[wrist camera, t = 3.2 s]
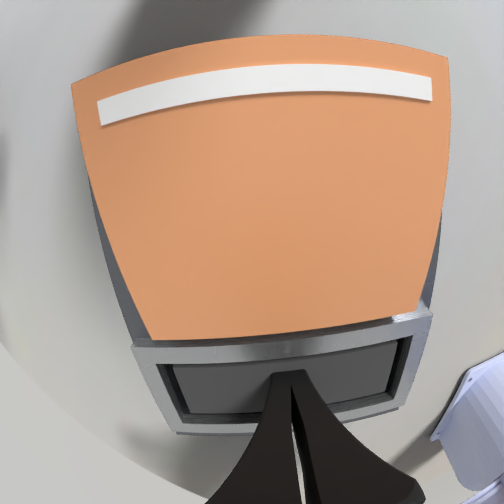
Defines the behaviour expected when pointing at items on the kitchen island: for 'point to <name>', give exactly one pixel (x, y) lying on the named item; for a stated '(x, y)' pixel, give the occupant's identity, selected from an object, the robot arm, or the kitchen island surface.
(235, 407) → the plunger
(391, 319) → the console
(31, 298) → the kitchen island surface
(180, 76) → the panel
